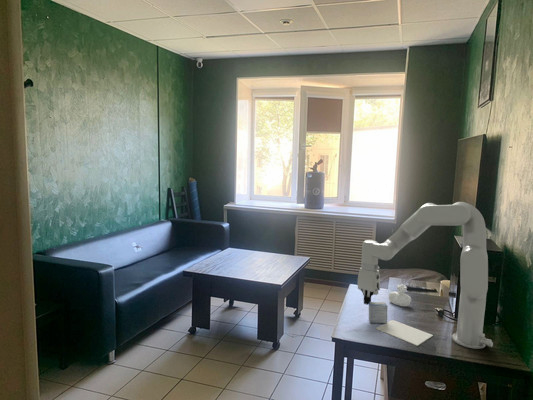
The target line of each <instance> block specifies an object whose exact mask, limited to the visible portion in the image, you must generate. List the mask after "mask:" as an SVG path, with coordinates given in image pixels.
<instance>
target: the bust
mask: <svg viewBox="0 0 533 400" xmlns="http://www.w3.org/2000/svg"><path fill="white" fill-rule="evenodd" d="M395 286H396V290H397V291H390V292H389V293H388V300H389V302H390V303H392V304H393V305H396V306H400V307H409V305H410V304H411V302H412V297H411V296H409V294H407V293H405V292H407V289H408V287H407V286H406V285H405V284H396V285H395Z"/></svg>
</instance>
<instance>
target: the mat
mask: <svg viewBox="0 0 533 400" xmlns="http://www.w3.org/2000/svg"><path fill="white" fill-rule="evenodd" d="M375 330H378V331H380V332H383V333H384V334H386V335H389V336H392V337H394V338H396V339H398V340H402V341H404V342H406V343H409V344H411V345H414V346H416V347H418V346H420V345H422V344H423V343H424V342H426V341H428V340H429V339H430V338H432V337H434V334H431V333H429V332H426V331H423V330H421V329H418V328H415V327H412V326H410V325H408V324H404V323H402V322H399V321H397V320H394V319H391V320H389V321H387V323H382V324H381V325H379V326H378V327H376V328H375Z"/></svg>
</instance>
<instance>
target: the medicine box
mask: <svg viewBox="0 0 533 400" xmlns="http://www.w3.org/2000/svg"><path fill="white" fill-rule="evenodd" d="M388 307H389V306H388V305H387V303H386V302H385V301H383V302H382V301H371V302H369V304H368V320H369V323H370V324H385V323H387V322H388V309H389V308H388Z"/></svg>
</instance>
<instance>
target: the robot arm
mask: <svg viewBox="0 0 533 400" xmlns="http://www.w3.org/2000/svg"><path fill="white" fill-rule="evenodd" d="M431 226H445V227H446V226H451V227H452V226H456V227H457V226H461V228H462V250H461V253H460V258H459V259H460V261H459V263H460V264H459V265H460V266H459V267H460V268H459V271H460V274H459V275H460V278H459V279H460V280H459V282H460V295H459V303H458V314H457V324H456V325H457V326H456V332H454V333H453V334H452V336H451V340H452V341H454V342H455V343H456V344H458V345H460V346H462V347H464V348H469V349H473V350H474V349H475V350H478V349H479V350H480V349H484V348H485V347H486V346H487V347H490V348H492V347H493V346H494V342H493V341H492V339H489V338H486V337H485V336H486V335H485V333H483V332H484V323H485V322H484V321H485V311H486V304H487V303H486V302H487V293H488V290H489V287H488V286H489V260H488V259H489V257H488V252H487V229H486V222H485V219H484V216H483V215H482V213H481V212H480V211H479V209H477V208H476V207H475V206H474V205H472V204H470V203H467V202H466V201H465V202H464V201H457V202H454V203H453V204H436V203H433V202H427V203H424V204H422V206H420V207H419V208H418V209H417V210H416V211H415V212H414V213H413V214H412V215H411V216H410V217H408V218H407V219H406V220H405V221H404V222H403V223H402V224H401V225H400V227H399V228H398V229H397V230H396V231H395V232H394V233H393V234H392V235H391V236H390V237H388V238H387V239H386V240H385V241H384V242H382V243H379V242H378V241H377V240H372V239H366V240H365V239H364V241H362V243H361V244H362V248H361V260H360V261H361V263H360V268H359V271H358V275H357V289H358V290H360V292H362V296H363V305H365V306H367V305H368V306H369V302H372V297H373V296H377V295H379V291H380V290H381V275H380V273H381V272H380V266H379V260H382V261H389V260H391V259H393V258H394V256H395V255H397V254H398V252H400V251H401V250H403V248H404V247H405V246H407V245H408V244H409V243H411V241H414V240H416V239H417V238H419V236H420V235H422V234H423V233H424V232H426V230H428V228H430V227H431Z"/></svg>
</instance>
